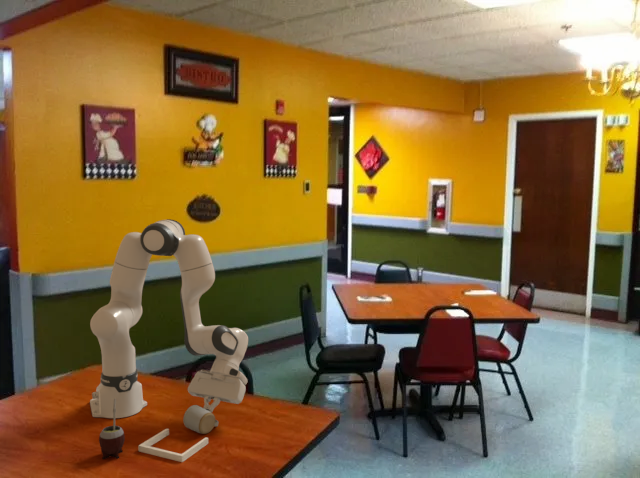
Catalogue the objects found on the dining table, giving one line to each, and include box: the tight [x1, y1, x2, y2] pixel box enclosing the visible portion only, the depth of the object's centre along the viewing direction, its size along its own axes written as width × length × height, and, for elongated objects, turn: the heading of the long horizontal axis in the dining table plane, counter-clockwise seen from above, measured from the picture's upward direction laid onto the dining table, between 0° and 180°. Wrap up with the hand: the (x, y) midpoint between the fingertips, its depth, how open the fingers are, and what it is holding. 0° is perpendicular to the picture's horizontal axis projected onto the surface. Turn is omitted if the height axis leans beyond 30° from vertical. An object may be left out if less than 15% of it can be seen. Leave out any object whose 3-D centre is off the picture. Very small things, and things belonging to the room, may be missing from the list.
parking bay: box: [137, 428, 209, 463], centre depth 176 cm, size 16×13×2 cm
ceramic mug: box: [182, 404, 219, 435], centre depth 189 cm, size 11×8×8 cm
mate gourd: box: [98, 399, 126, 460], centre depth 171 cm, size 8×8×15 cm
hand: (207, 411), depth 192 cm, fingers closed
